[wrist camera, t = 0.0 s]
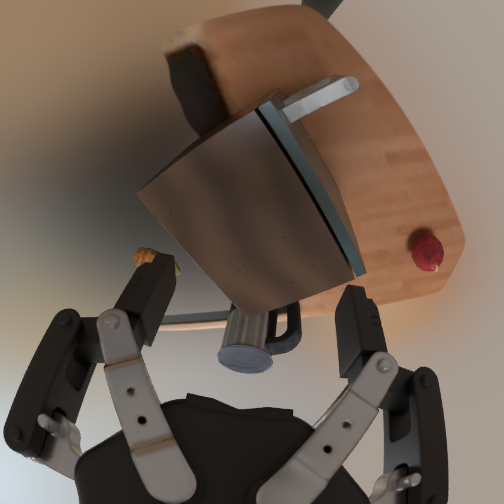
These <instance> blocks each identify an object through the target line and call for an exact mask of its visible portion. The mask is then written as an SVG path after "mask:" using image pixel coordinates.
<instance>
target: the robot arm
mask: <svg viewBox="0 0 504 504" xmlns="http://www.w3.org/2000/svg"><path fill="white" fill-rule="evenodd" d="M175 286H176V272H175V260H174V256H173V255H168V254H163V253H157V254H156V255H155V257H154V259H153V260H152V262H145V263H143V264H142V265H141V266H139V267H138V268H137V269H136V271H135V273H134V274H133V276H132V278H131V279H130V281H129V283H128V284H127V286H126V287H125V289H124V291H123V292H122V294H121V296H120V297H119V299H118V301H117V303H116V304H115V306H114V308H113V309H108V310H106V311H104V312H103V313H101V314H100V316H99V317H80V315H79V313H78V312H77V311H76V310H74V309H64V310H62V311H60V312H58V313H57V314H56V316H55V317H54V319H53V320H52V322H51V324H50V326H49V328H48V329H47V331H46V333H45V335H44V337H43V339H42V340H41V342H40V344H39V346H38V348H37V350H36V352H35V354H34V356H33V358H32V360H31V362H30V365H29V366H28V369H27V371H26V373H25V375H24V377H23V379H22V382H21V384H20V386H19V389H18V391H17V394H16V397H15V398H14V401H13V403H12V406H11V409H10V411H9V415H8V417H7V420H6V423H5V426H4V433H3V434H4V438H5V441H6V443H7V445H8V446H9V447H10V448H11V449H12V450H13V451H15V452H18V453H20V454H22V455H23V456H24V457H26V458H29V459H31V460H33V461H35V462H38V463H40V464H44V465H46V466H48V467H49V468H51V469H53V470H55V471H57V472H59V473H61V474H63V475H65V476H66V477H68V478H71V479H73V480H75V484H76V487H77V491H78V496H79V504H447V501H448V453H447V440H446V429H445V421H444V413H443V407H442V400H441V394H440V388H439V382H438V378H437V376H436V374H435V373H434V371H432V370H431V369H430V368H428V367H420V368H418V369H417V370H416V371H415V372H413V371H410V370H407V369H404V368H402V367H399V366H398V364H397V361H396V360H395V358H394V357H393V356H391V355H390V354H389V353H388V351H387V347H386V342H385V337H384V333H383V328H382V326H381V320H380V316H379V312H378V308H377V306H376V305H375V303H374V302H373V300H372V299H368V298H367V297H366V293H365V289H364V287H362V286H355V285H347V286H346V288H345V290H344V292H343V295H342V297H341V299H340V301H339V303H338V305H337V308H336V311H335V325H336V334H337V346H338V358H339V372H340V378H348V385H347V386H346V387H345V388H344V390H343V391H342V392H341V394H340V395H339V396H338V397H337V399H336V400H335V401H334V402H333V404H332V405H331V406H330V407H329V408H328V410H327V411H326V412H325V413H324V414H323V415H322V417H321V418H320V419H319V420H318V421H317V422H316V423H315V424H314V425H313V426H311V425H309V424H308V423H307V422H305V421H303V420H302V419H300V418H297V417H295V416H293V410H292V409H281V408H272V407H263V408H253V409H237V408H234V407H232V406H229V405H227V404H224V403H222V402H220V401H218V400H216V399H213V398H209V397H204V396H199V395H195V394H190V393H187V396H186V399H176V400H171V401H168V402H165V403H163V404H161V403H160V400H159V398H158V396H157V394H156V391H155V389H154V386H153V384H152V382H151V379H150V376H149V374H148V371H147V369H146V366H145V363H144V361H143V358H142V355H141V349H142V347H143V345H146V346H150V347H151V346H152V343H153V341H154V338H155V336H156V333H157V331H158V328H159V326H160V324H161V321H162V319H163V317H164V314H165V312H166V310H167V307H168V305H169V303H170V300H171V298H172V296H173V293H174V291H175ZM97 363H105V366H104V372H105V375H106V380H107V383H108V387H109V390H110V393H111V397H112V400H113V403H114V406H115V409H116V412H117V415H118V418H119V421H120V424H121V427H122V430H120V431H119V432H117V433H115V434H114V435H112V436H111V437H109V438H107V439H106V440H104V441H103V442H101V443H99V444H97V445H96V446H94V447H92V448H91V449H89V450H87V451H86V452H84V453H82V452H81V448H80V439H81V436H80V432H79V429H78V428H77V426H76V425H75V423H76V420H77V417H78V413H79V411H80V408H81V405H82V402H83V399H84V396H85V393H86V391H87V388H88V385H89V383H90V380H91V377H92V375H93V372H94V369H95V367H96V364H97ZM378 408H380V409H383V417H384V419H383V420H384V472H383V475H382V476H380V477H379V478H378V479H377V481H376V483H375V486H374V488H373V492H372V494H371V496H370V497H369V498H368V497H367V495H366V494H365V493H364V491H363V490H362V489H361V488H360V487H359V485H358V484H357V483H356V482H355V481H354V479H353V478H352V477H351V476H350V474H349V473H348V472H347V471H346V469H345V468H344V467H343V465H342V464H343V463H344V461H345V460H346V459H347V457H348V456H349V454H350V453H351V452H352V451H353V449H354V448H355V447H356V445H357V444H358V443H359V441H360V440H361V438H362V437H363V435H364V434H365V432H366V431H367V430H368V428H369V427H370V425H371V424H372V422H373V420H374V419H375V417H376V416H377V414H378V411H379V410H378Z"/></svg>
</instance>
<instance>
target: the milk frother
mask: <svg viewBox="0 0 504 504" xmlns="http://www.w3.org/2000/svg"><path fill="white" fill-rule="evenodd" d="M277 316H278V308H277V309H274V310H271V311H268V312H265V313H262V314H259V315H256V316H253V317H250V318H247V317H246V316H245V315H244V314H243V313H242V312H241V311H240V310H239V309H238V308H237V307H236V306H235V305H234V304H233V303H232V304H231V309H230V313H229V317H228V321H227V325H226V329H225V334H224V338H223V342H222V346H221V349H220V351H219V352H218V354H217V357H218V360H219V362H220V363H221V364H222V365H223V366H225V367H227V368H228V369H231V370H233V371H236V372H241V373H249V374H250V373H261V372H264V371H266V370H268V369H270V368H271V366H272V364H273V361H272V358H271V355H277V354H283V353H287V352H289V351H291V350H293V349H294V348H295V347H296V346H297V345H298V343H299V342H300V340H301V336H302V331H301V315H300V304H299V301H296V302H294V303H291V304H288V305H287V331H286V332H285V333H284V334H283V335H282V336H279V337H275V336H276V325H277Z"/></svg>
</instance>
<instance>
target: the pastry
mask: <svg viewBox="0 0 504 504" xmlns="http://www.w3.org/2000/svg"><path fill="white" fill-rule="evenodd" d="M157 253H160V252H157V251H155V250H153V249H150V248H143V247H142V248H139V249H138V250H137V251H136V253H135V255H134V257H133V259H134V261H135V263H136V265H137V266H138V267H139V266H141V265H142V264H143V263H145V262H152V260H153V259H154V257H155V255H156V254H157ZM175 272H176V277H177V276H178V274H179V273H180V268H179V267H178V265H177V263H176V262H175Z"/></svg>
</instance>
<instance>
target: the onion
mask: <svg viewBox="0 0 504 504" xmlns="http://www.w3.org/2000/svg"><path fill="white" fill-rule="evenodd" d="M443 256H444V251H443V247H442V245H441V242H440V241H439V240H438V239H437V238H436V237H434V236H431V235H422V236H420V237H419V238H417V239H416V241H415V242H414V244H413V247H412V259H413V261H414V263H415V264H416V266H417V267H419V268H420V269H421V270H423V271H433V272H438V270H439V266H440V264H441V262H442V261H443Z"/></svg>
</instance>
